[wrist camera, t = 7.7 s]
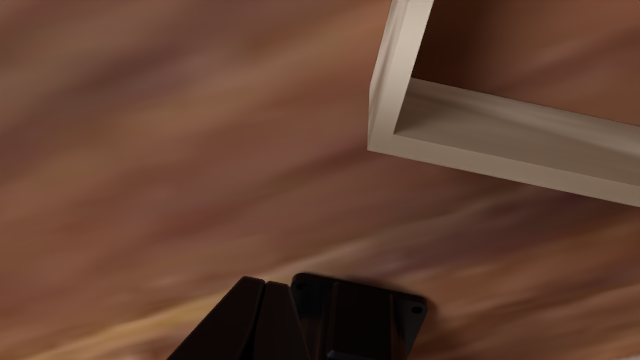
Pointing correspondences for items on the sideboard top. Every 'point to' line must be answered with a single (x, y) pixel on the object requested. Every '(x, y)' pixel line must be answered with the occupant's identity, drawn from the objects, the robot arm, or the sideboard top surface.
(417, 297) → the robot arm
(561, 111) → the cubby
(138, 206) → the sideboard top surface
